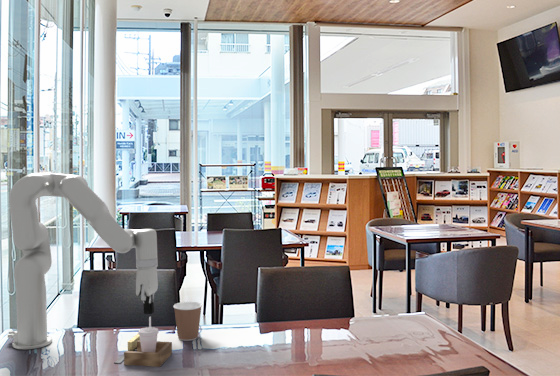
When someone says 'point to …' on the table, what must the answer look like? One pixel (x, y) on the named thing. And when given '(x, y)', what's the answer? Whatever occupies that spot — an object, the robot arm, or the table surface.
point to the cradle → (147, 355)
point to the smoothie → (148, 338)
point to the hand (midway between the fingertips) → (148, 313)
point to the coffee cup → (187, 320)
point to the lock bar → (133, 342)
